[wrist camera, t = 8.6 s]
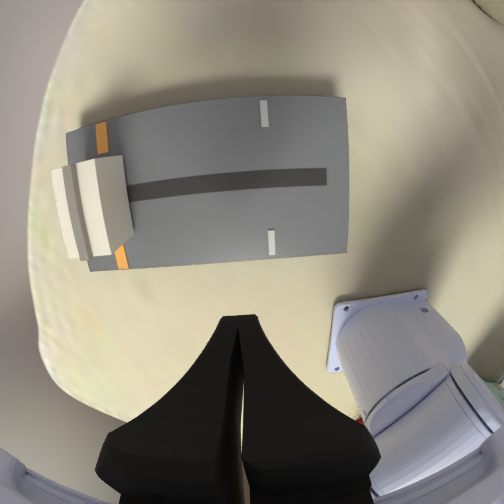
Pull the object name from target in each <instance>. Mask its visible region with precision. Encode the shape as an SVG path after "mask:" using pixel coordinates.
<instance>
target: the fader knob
mask: <svg viewBox="0 0 504 504" xmlns="http://www.w3.org/2000/svg"><path fill="white" fill-rule="evenodd" d="M51 172H52V179H53V186H54V193H55V199H56V204H57V210H58V215H59V219H60V224H61V229H62V233H63V237H64V241H65V245H66V249H67V253H68V256H69V259H71V258H80V261H84V260H90V259H91V258H92V257H93V256H104V255H112V254H113V253H114V252H115V251H116V250H117V249H118V248H119V247H120V246H122V245H123V244H124V243H125V242H126V241H127V240H128V239H129V238H130V237H131V236H133V235H134V230H133V224H132V219H131V213H130V207H129V201H128V194H127V188H126V180H125V173H124V164H123V155H119V156H110V157H102V158H95V159H91V160H87V161H83V162H80V163H76V164H71V165H67V166H64V167H62V168H59V169H56V170H53V171H51Z"/></svg>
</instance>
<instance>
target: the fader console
mask: <svg viewBox="0 0 504 504" xmlns="http://www.w3.org/2000/svg"><path fill="white" fill-rule="evenodd" d="M66 145H67V156H68V165H71V164H76V163H80V162H83V161H87V160H91V159H95V158H102V157H110V156H119V155H123V164H124V173H125V180H126V188H127V194H128V201H129V207H130V213H131V219H132V224H133V230H134V235H133V236H131V237H130V238H129V239H128V240H127V241H126V242H125V243H124V244H123V245H122V246H120V247H119V248H118V249H117V250H116V251H115V252H114V253H113V254H112V255H104V256H93V257H92V258H91V259H90V260H87V262H88V266H89V269H90V272H93V271H108V270H124V269H139V268H154V267H169V266H183V265H197V264H211V263H224V262H238V261H251V260H264V259H277V258H289V257H302V256H314V255H326V254H338V253H347V242H348V220H349V146H348V125H347V110H346V98H341V97H326V96H296V95H280V96H251V97H236V98H224V99H214V100H205V101H198V102H190V103H184V104H177V105H172V106H166V107H161V108H155V109H151V110H146V111H141V112H137V113H132V114H128V115H124V116H120V117H117V118H113V119H109V120H106V121H102V122H99V123H95V124H92V125H89V126H86V127H83V128H80V129H77V130H74V131H71V132H68V133H66Z"/></svg>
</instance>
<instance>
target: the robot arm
mask: <svg viewBox="0 0 504 504" xmlns="http://www.w3.org/2000/svg"><path fill="white" fill-rule="evenodd" d="M415 295H416V296H415ZM414 296H415V297H414ZM427 297H428V292H427V291H426V290H425V289H422V290H417V291H411V292H405V293H400V294H394V295H387V296H381V297H375V298H368V299H361V300H354V301H346V302H340V303H337V304H336V305H335V306H334V311H333V320H332V329H331V337H330V345H329V352H328V359H327V366H326V370H327V372H328V373H334V372H340V371H344V373H345V376H346V378H347V381H348V383H349V385H350V388H351V391H352V393H353V396H354V398H355V401H356V403H357V406H358V408H359V411H360V414H361V416H362V419H363V421H364V425H363V424H361V423H359V422H357V421H355V420H353V419H352V418H350V417H348V416H346V415H345V414H343V413H341V412H340V411H338V410H337V409H335V408H334V407H332V406H331V405H330V404H328V403H327V402H325V401H324V400H323V399H322V398H320V397H319V396H318V395H317V394H315V393H314V392H313V391H312V390H310V389H309V388H308V387H307V386H306V385H305V384H304V383H303V382H302V381H301V380H300V379H299V378H298V377H297V376H296V375H295V374H294V373H293V372H292V371H291V370H290V369H289V368H288V366H287V365H286V364H285V363H284V362H283V360H282V359H281V358H280V356H279V355H278V354H277V352H276V351H275V350H274V348H273V346H272V345H271V343H270V342H269V340H268V339H267V337H266V335H265V333H264V331H263V330H262V327H261V325H260V323H259V320H258V316H256V315H255V314H251V315H237V316H223V317H222V318H221V319H220V321H219V323H218V325H217V327H216V329H215V331H214V333H213V335H212V337H211V338H210V340H209V342H208V343H207V345H206V346H205V348H204V350H203V351H202V353H201V354H200V355H199V357H198V358H197V359H196V361H195V362H194V364H193V365H192V366H191V368H190V369H189V370H188V371H187V372H186V374H185V375H184V376H183V377H182V378H181V379H180V380H179V381H178V382H177V384H176V385H175V386H174V387H173V388H171V389H170V390H169V391H168V392H167V393H166V394H165V395H164V396H163V397H162V398H161V399H160V400H158V401H157V402H156V403H155V404H154V405H152V406H151V407H150V408H148V409H147V410H146V411H144V412H143V413H142V414H140V415H139V416H137V417H136V418H134V419H133V420H131V421H129V422H128V423H126V424H124V425H122V426H121V427H119V428H117V429H115V430H114V431H112V432H110V433H108V435H107V437H106V439H105V442H104V443H103V446H102V449H101V452H100V455H99V458H98V461H97V464H96V468H95V471H96V473H97V475H98V477H99V478H100V479H101V480H103V481H104V482H105V483H106V484H108V485H109V486H110V487H112V488H113V489H114V490H116V491H117V492H119V493H120V494H121V496H120V501H119V504H245V503H244V489H243V472H242V462H243V465H244V469H245V472H246V476H247V480H248V483H249V486H250V504H504V409H503V408H502V406H501V405H500V403H499V402H498V400H497V399H496V398H495V396H494V395H493V393H492V392H491V391H490V389H489V388H488V387H487V385H486V384H485V383H484V382H483V380H482V379H481V378H480V377H479V376H478V374H477V373H476V372H475V371H474V370H473V369H472V368H471V367H470V366H469V365H468V364H467V353H466V348H465V345H464V343H463V340H462V338H461V337H460V335H459V334H458V333H457V332H456V331H455V330H454V328H453V327H452V326H451V325H450V324H449V323H448V322H447V321H446V320H445V319H444V318H443V317H442V316H441V315H440V314H439V313H438V312H437V311H436V310H435V309H434V308H433V307H432V306H431V305H430V304H429V303H428V302H427ZM346 306H348V307H347V308H346V309H344V308H345V307H346ZM336 367H337V368H336ZM243 385H244V410H243V439H242V453H241V412H242V399H243ZM0 504H114V503H111V502H107V501H104V500H101V499H98V498H95V497H92V496H89V495H86V494H84V493H81V492H78V491H76V490H73V489H71V488H68V487H66V486H64V485H61V484H59V483H57V482H55V481H53V480H50V479H48V478H46V477H44V476H42V475H40V474H38V473H36V472H34V471H33V470H31V469H29V468H27V467H26V466H25V465H24V464H23V463H22V462H21V461H20V460H18V459H17V458H16V457H14V456H13V455H11V454H10V453H8V452H7V451H5V450H4V449H2V448H1V447H0Z"/></svg>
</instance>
